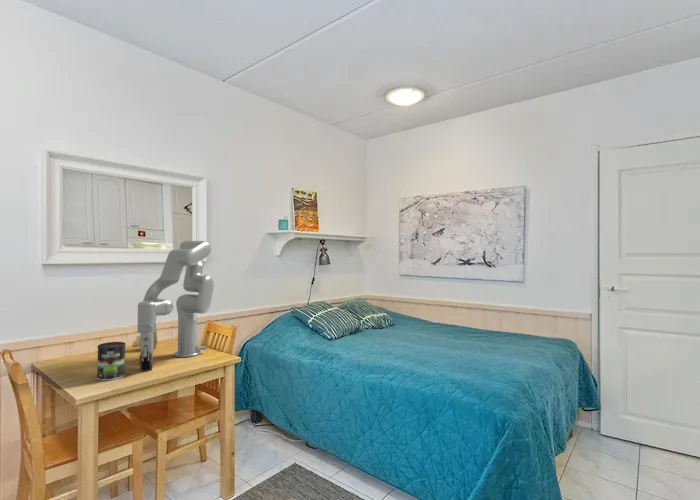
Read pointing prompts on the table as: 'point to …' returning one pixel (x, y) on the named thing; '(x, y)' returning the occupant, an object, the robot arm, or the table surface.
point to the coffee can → (111, 361)
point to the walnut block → (150, 362)
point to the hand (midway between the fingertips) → (146, 367)
